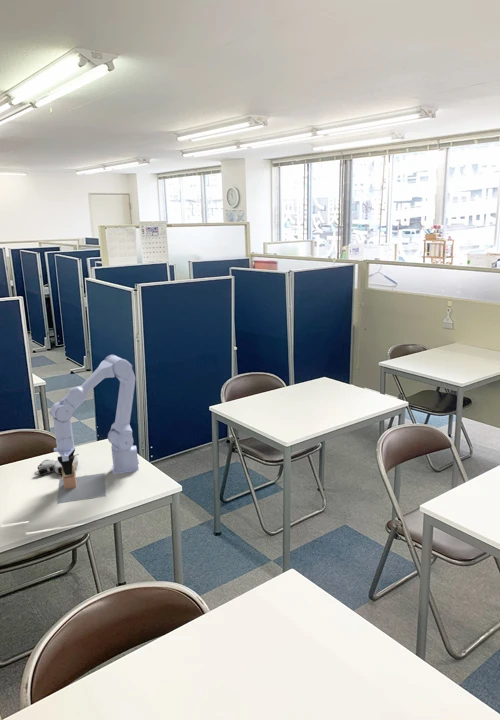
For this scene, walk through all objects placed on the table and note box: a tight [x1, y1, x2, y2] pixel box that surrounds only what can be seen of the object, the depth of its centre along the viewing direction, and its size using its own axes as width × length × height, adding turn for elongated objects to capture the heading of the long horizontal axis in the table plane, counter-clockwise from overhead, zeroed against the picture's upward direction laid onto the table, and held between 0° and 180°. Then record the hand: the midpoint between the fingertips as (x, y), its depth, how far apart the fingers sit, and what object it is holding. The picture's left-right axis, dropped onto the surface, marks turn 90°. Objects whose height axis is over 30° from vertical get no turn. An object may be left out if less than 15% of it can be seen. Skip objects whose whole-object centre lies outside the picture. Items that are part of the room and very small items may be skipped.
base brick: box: [62, 473, 77, 489], centre depth 196 cm, size 4×4×4 cm
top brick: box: [62, 461, 76, 478], centre depth 195 cm, size 4×4×4 cm
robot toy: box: [34, 453, 80, 476], centre depth 209 cm, size 12×4×15 cm
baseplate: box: [56, 472, 107, 505], centre depth 195 cm, size 16×18×1 cm
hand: (68, 471), depth 195 cm, fingers closed on top brick, 4 cm apart
